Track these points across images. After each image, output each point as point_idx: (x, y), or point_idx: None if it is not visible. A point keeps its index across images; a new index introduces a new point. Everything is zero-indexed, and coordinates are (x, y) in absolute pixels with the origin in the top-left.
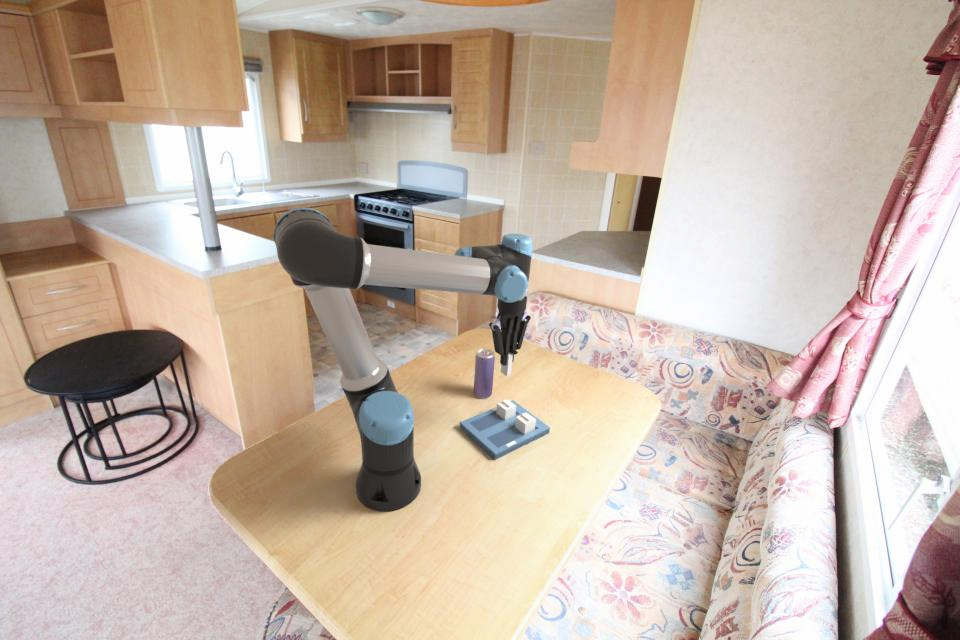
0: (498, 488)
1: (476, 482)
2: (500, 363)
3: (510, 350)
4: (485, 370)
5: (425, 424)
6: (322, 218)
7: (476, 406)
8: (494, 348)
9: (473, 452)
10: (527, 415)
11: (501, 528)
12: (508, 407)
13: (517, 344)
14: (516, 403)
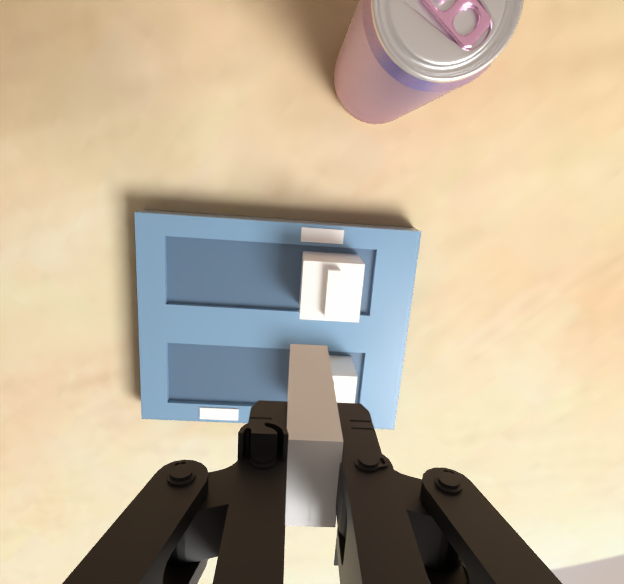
0: (87, 486)
1: (44, 438)
2: (257, 402)
3: (340, 513)
4: (375, 89)
5: (31, 102)
6: None
7: (290, 137)
8: (134, 498)
9: (110, 341)
10: (345, 392)
11: (16, 570)
12: (322, 311)
13: (432, 582)
14: (414, 257)
